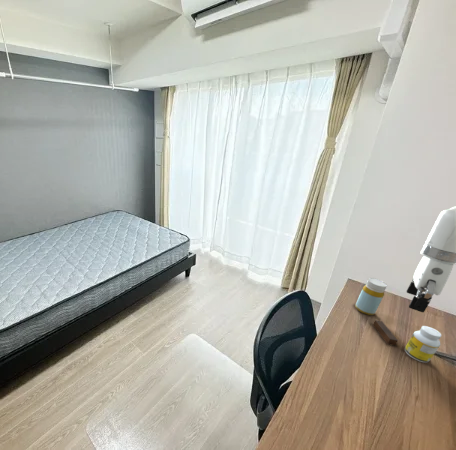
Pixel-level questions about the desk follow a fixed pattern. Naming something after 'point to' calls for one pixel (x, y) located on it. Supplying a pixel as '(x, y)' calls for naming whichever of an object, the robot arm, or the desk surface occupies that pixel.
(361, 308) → the bottle
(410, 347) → the pill bottle
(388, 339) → the walnut bar
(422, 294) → the robot arm
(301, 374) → the desk surface
